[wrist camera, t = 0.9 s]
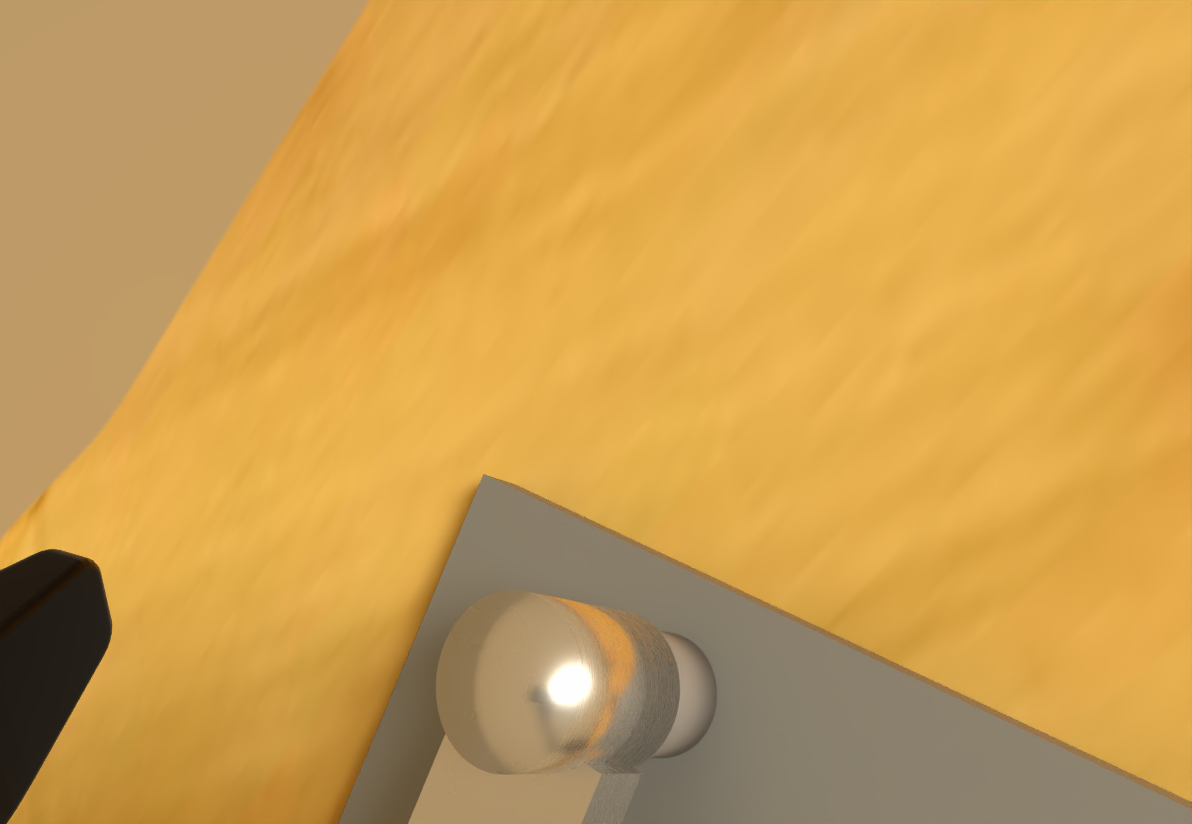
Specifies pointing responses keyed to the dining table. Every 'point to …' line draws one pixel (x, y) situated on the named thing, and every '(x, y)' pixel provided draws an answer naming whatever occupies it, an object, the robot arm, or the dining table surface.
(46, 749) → the robot arm
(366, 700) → the dining table surface
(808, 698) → the label board
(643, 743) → the swing arm
